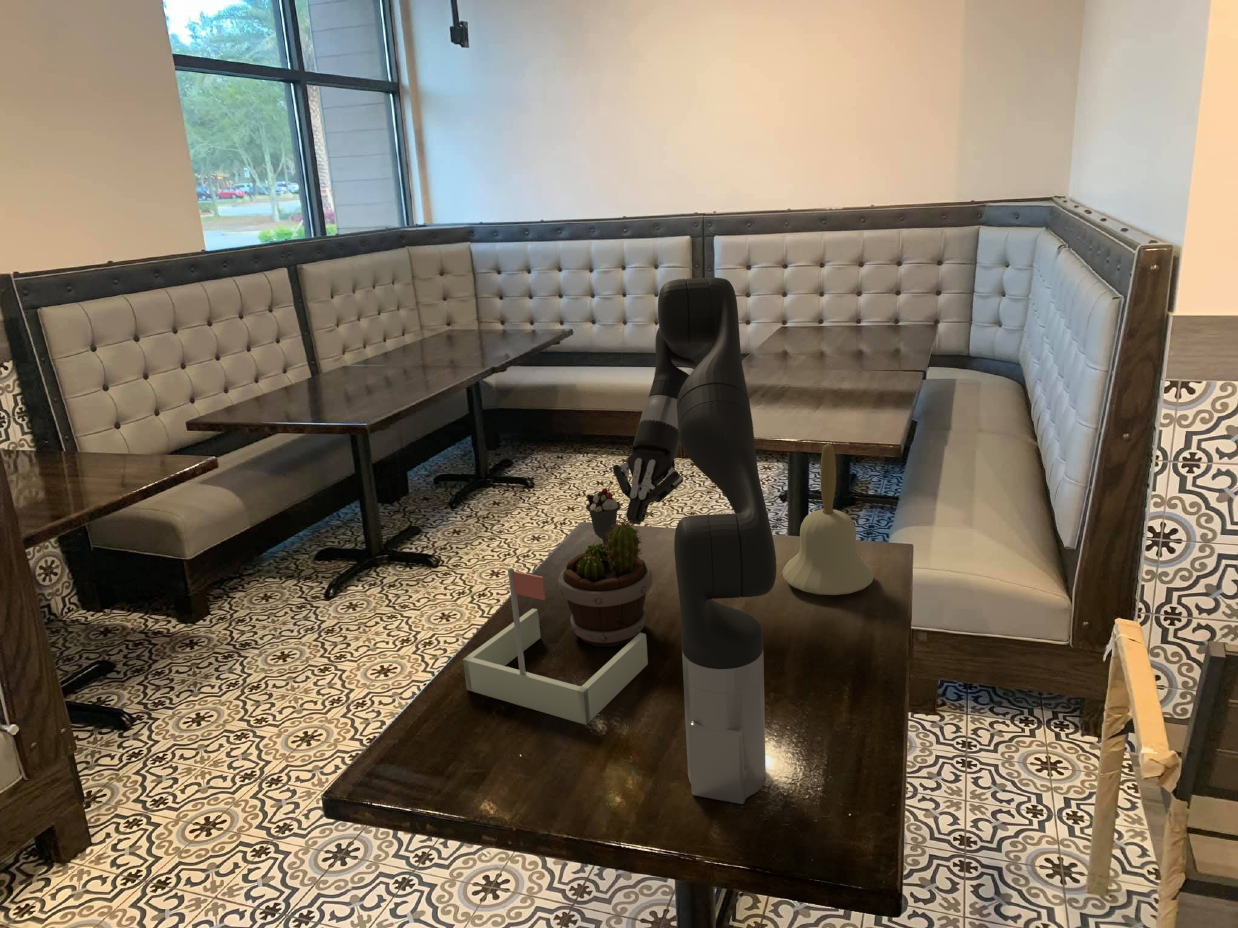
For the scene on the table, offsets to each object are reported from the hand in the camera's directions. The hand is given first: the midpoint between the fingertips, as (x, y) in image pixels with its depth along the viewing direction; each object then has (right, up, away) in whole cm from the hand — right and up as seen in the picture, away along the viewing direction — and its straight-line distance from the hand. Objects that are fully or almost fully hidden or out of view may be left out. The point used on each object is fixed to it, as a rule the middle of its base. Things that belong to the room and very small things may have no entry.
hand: (633, 522), depth 148 cm
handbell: (+34, -11, +7) cm, 36 cm away
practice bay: (-11, -21, -16) cm, 29 cm away
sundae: (-5, -8, +24) cm, 26 cm away
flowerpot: (-4, -17, -5) cm, 18 cm away
